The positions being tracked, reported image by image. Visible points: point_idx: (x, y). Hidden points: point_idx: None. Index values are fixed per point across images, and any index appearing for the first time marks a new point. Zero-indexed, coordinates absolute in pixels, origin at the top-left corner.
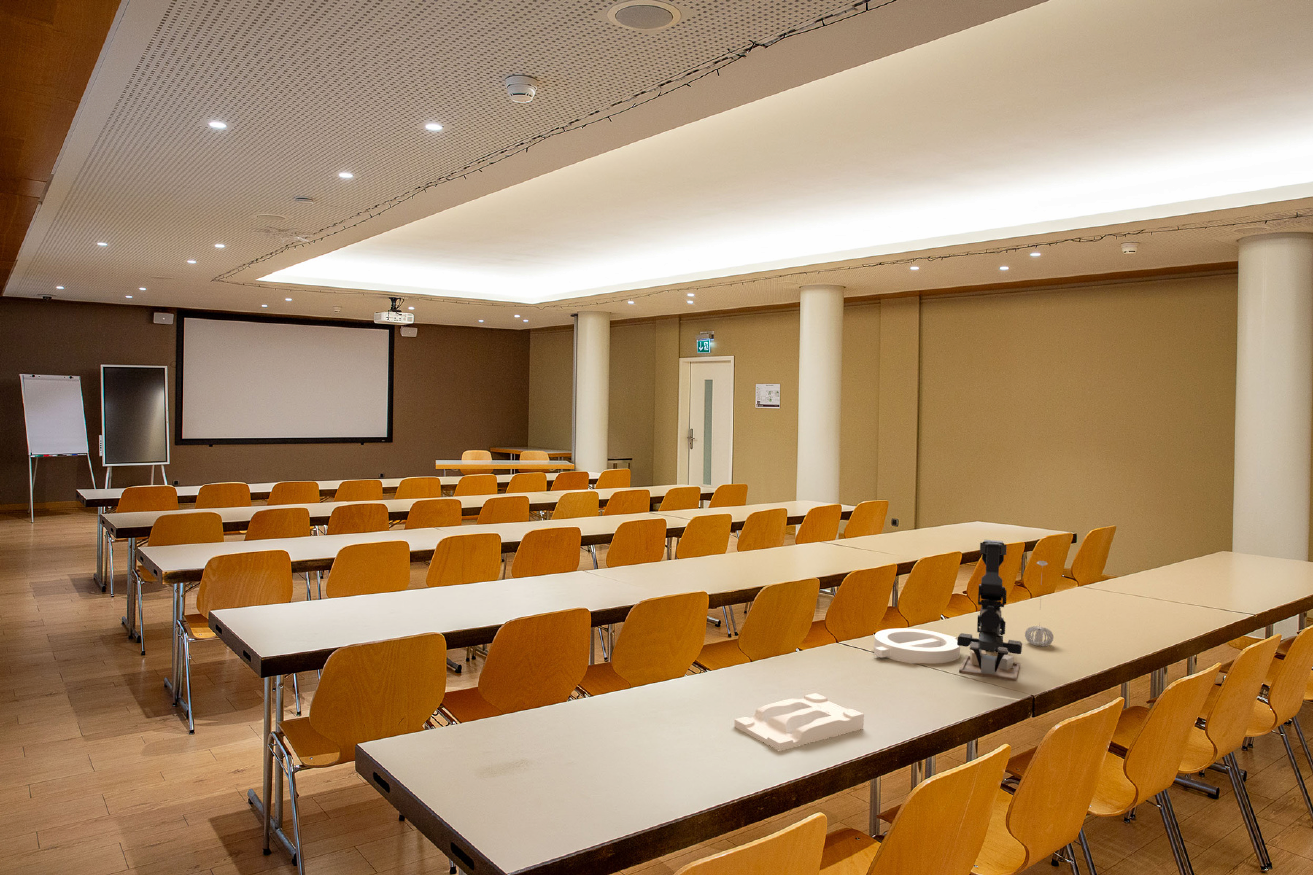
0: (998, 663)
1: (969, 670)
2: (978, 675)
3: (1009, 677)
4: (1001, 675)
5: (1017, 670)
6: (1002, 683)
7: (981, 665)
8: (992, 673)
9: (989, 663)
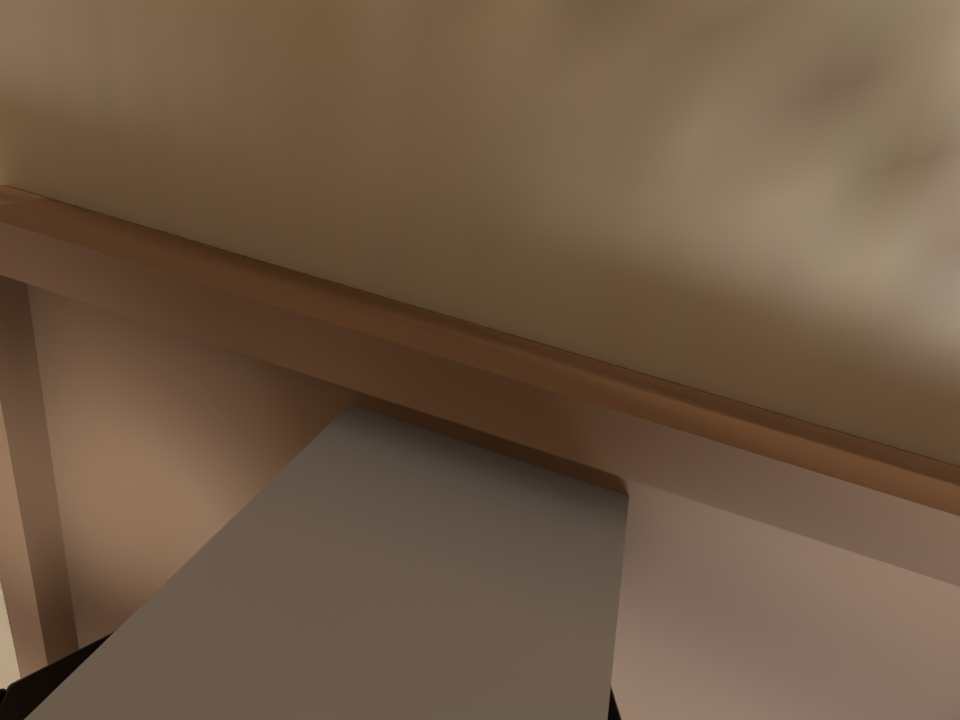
0: (69, 673)
1: (840, 706)
2: (708, 407)
3: (39, 268)
4: (231, 483)
5: (26, 659)
6: (205, 32)
7: (598, 669)
8: (361, 444)
9: (306, 666)
